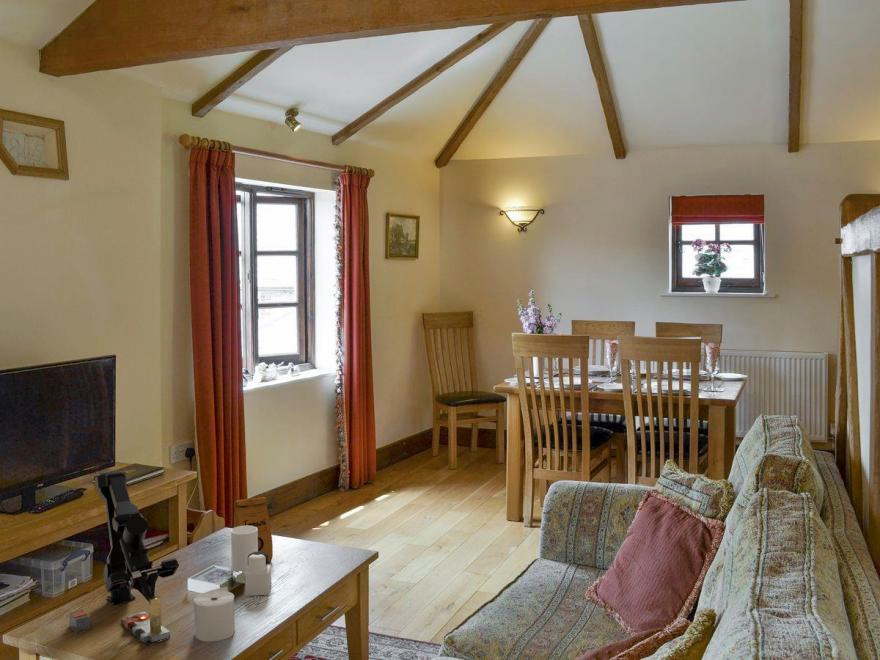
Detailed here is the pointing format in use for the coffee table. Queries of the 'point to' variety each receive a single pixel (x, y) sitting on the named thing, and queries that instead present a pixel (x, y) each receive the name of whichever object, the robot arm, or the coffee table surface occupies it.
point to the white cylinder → (243, 546)
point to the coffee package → (255, 521)
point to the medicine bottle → (258, 575)
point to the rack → (148, 622)
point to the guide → (139, 634)
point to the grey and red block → (79, 621)
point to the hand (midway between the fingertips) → (152, 602)
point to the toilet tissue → (214, 615)
